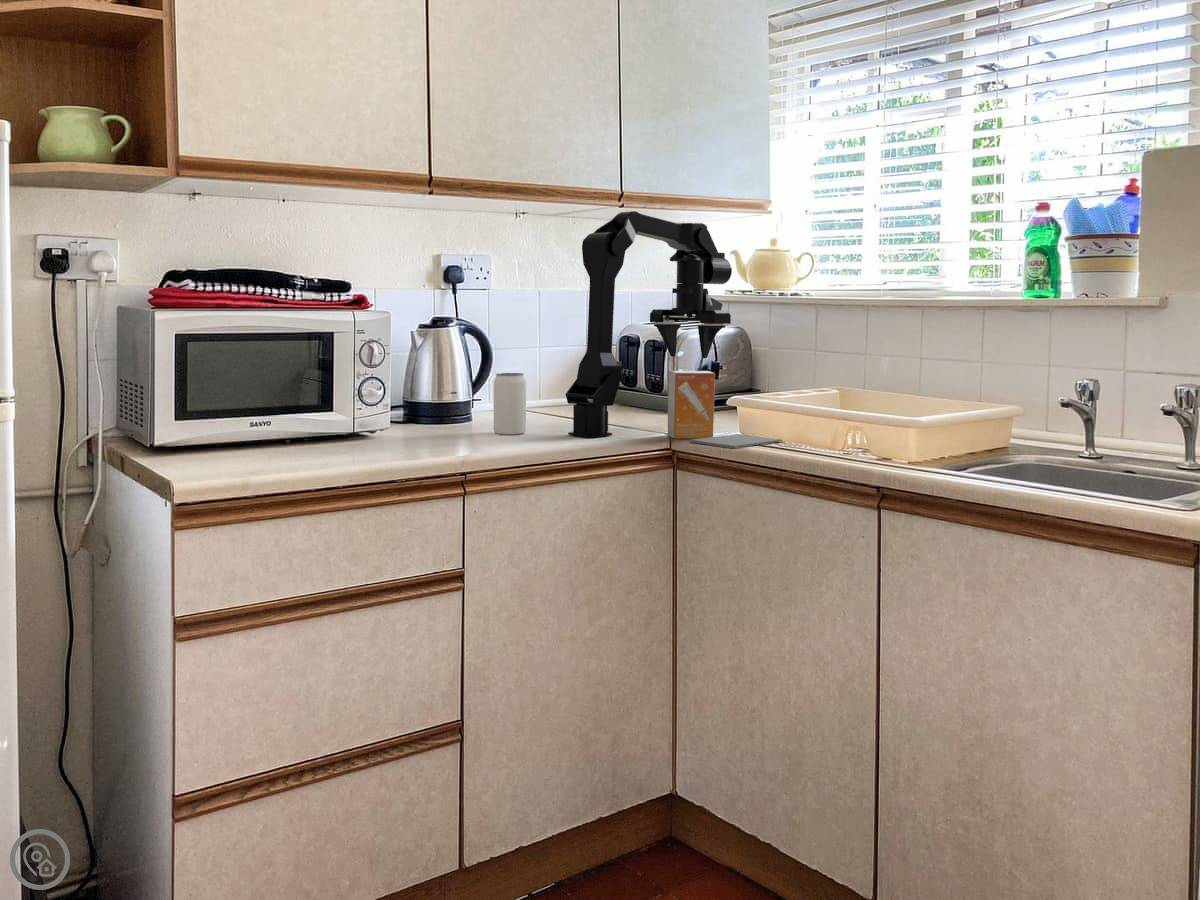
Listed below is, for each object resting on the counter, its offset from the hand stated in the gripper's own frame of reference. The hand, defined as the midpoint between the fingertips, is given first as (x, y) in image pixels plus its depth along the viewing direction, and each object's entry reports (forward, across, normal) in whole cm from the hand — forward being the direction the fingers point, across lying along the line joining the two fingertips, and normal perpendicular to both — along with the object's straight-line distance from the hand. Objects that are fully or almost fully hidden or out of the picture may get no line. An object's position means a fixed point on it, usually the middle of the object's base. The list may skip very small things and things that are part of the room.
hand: (688, 357), depth 229 cm
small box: (+15, -14, +14) cm, 25 cm away
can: (+15, +13, +38) cm, 43 cm away
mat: (+15, -25, +13) cm, 32 cm away
